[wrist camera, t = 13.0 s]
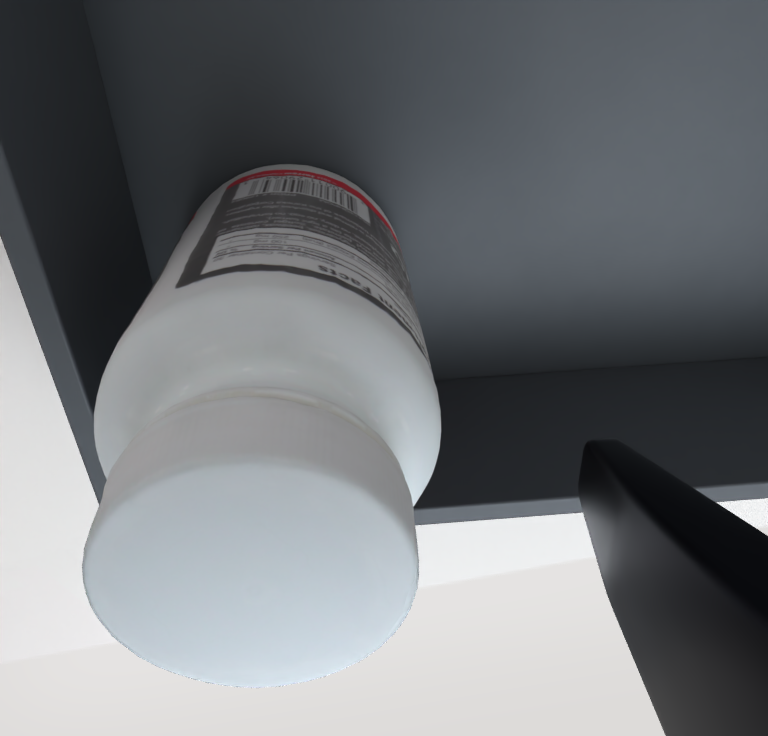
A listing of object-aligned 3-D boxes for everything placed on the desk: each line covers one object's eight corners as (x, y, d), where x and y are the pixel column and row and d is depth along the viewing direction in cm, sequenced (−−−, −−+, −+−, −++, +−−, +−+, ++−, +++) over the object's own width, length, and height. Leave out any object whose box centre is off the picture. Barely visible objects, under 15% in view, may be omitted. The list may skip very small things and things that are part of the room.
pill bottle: (298, 397, 18) (266, 764, 10) (137, 267, 16) (-90, 599, 7) (447, 271, 16) (566, 584, 8) (291, 105, 14) (224, 296, 6)
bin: (886, 353, 19) (1066, 476, 14) (171, 403, 18) (114, 549, 14) (1239, -479, 11) (1948, -837, 6) (-50, -447, 10) (-391, -822, 5)
